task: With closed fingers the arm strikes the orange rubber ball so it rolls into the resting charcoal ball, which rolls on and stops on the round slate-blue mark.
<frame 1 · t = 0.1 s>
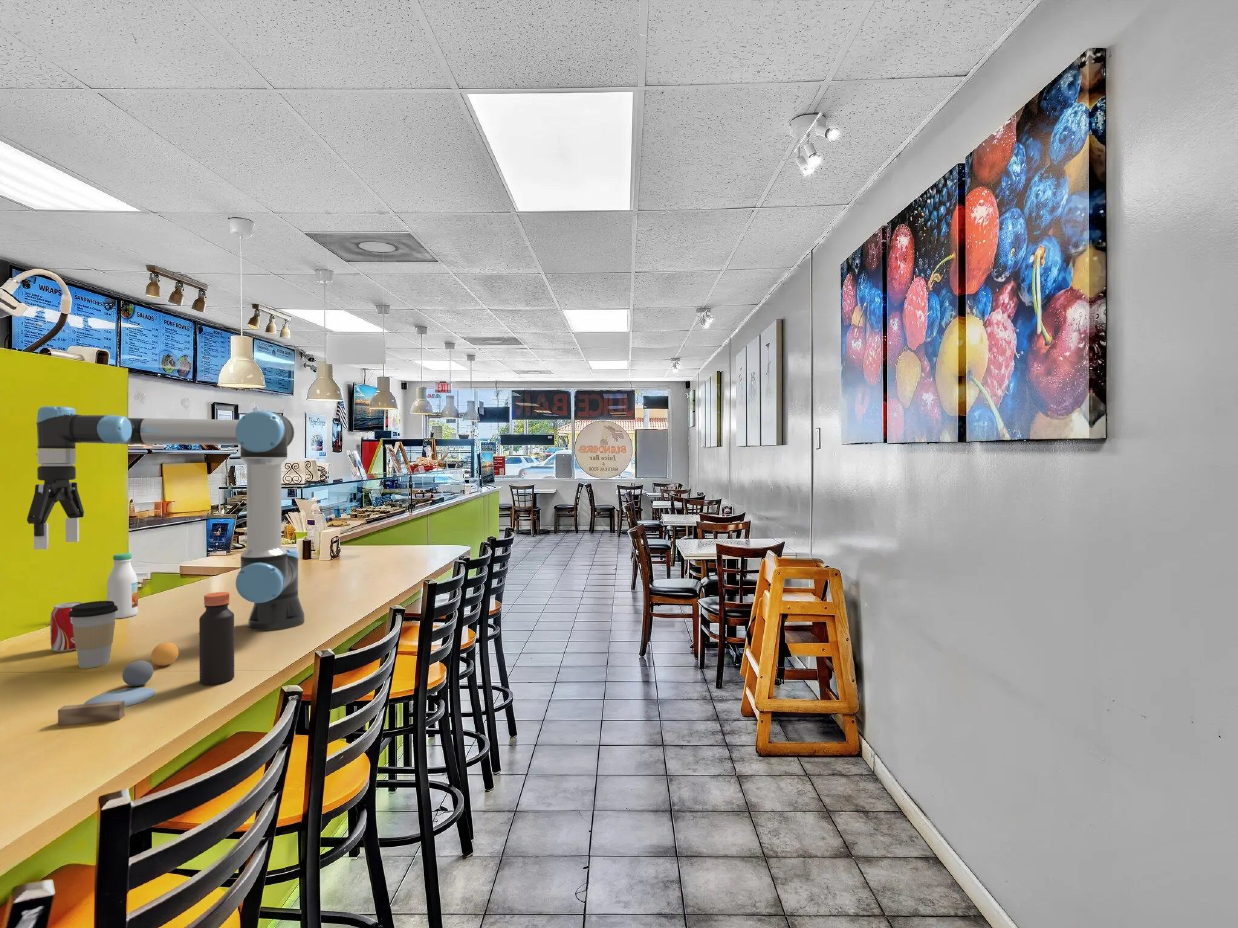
hand: (57, 545, 163), 28 cm above the worktop, tool pointing down, fingers open, 13 cm apart
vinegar: (217, 681, 143), on the worktop
coffee cup: (94, 665, 153), on the worktop
brown wooden block: (91, 720, 121), on the worktop
milk bottle: (122, 616, 198), on the worktop
ball A: (164, 653, 153), on the worktop
mark: (120, 698, 132), on the worktop
ball B: (138, 673, 139), on the worktop
soda can: (68, 649, 165), on the worktop
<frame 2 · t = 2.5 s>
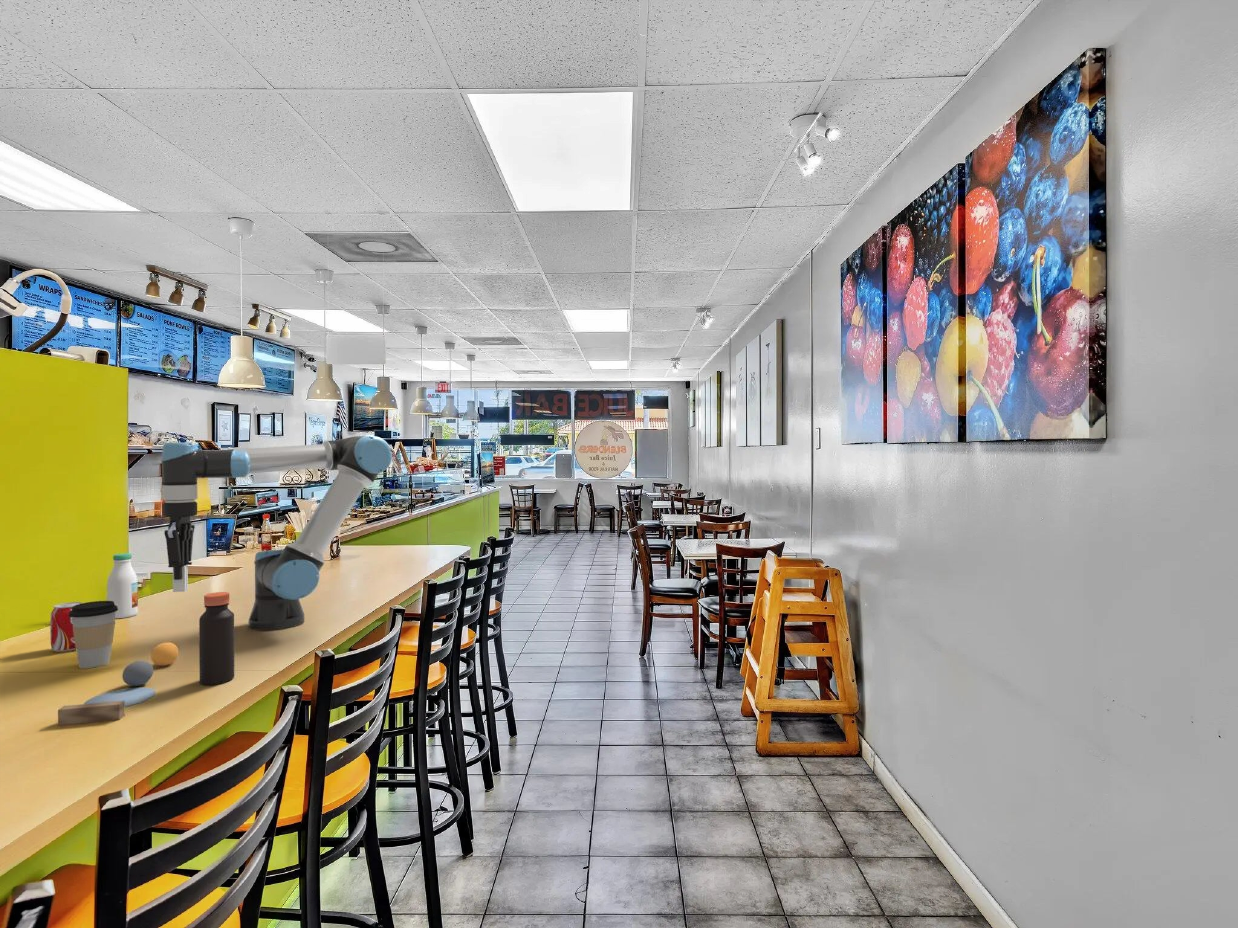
hand: (180, 590, 162), 16 cm above the worktop, tool pointing down, fingers closed
nothing on the worktop moved.
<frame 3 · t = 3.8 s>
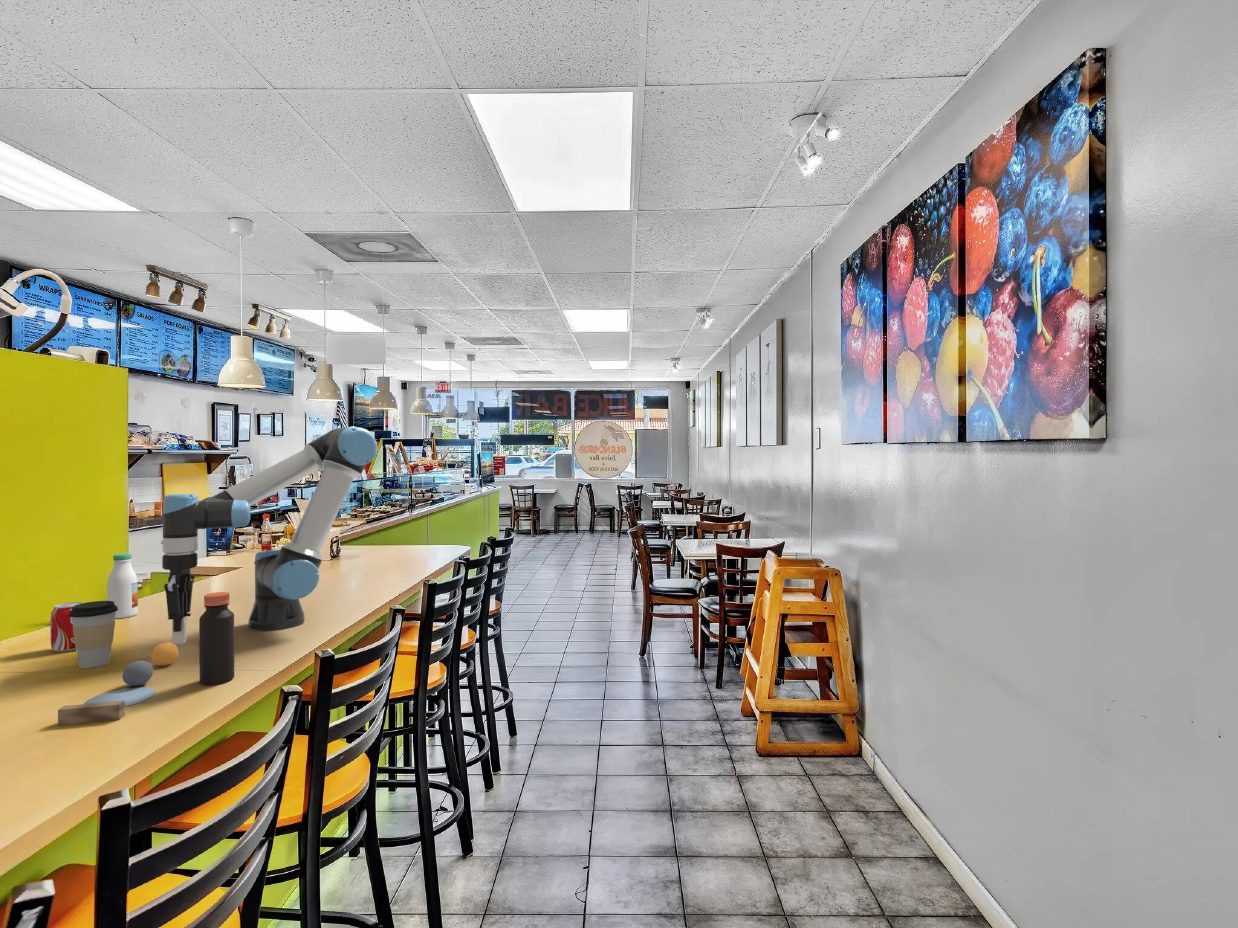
hand: (179, 642, 162), 3 cm above the worktop, tool pointing down, fingers closed
nothing on the worktop moved.
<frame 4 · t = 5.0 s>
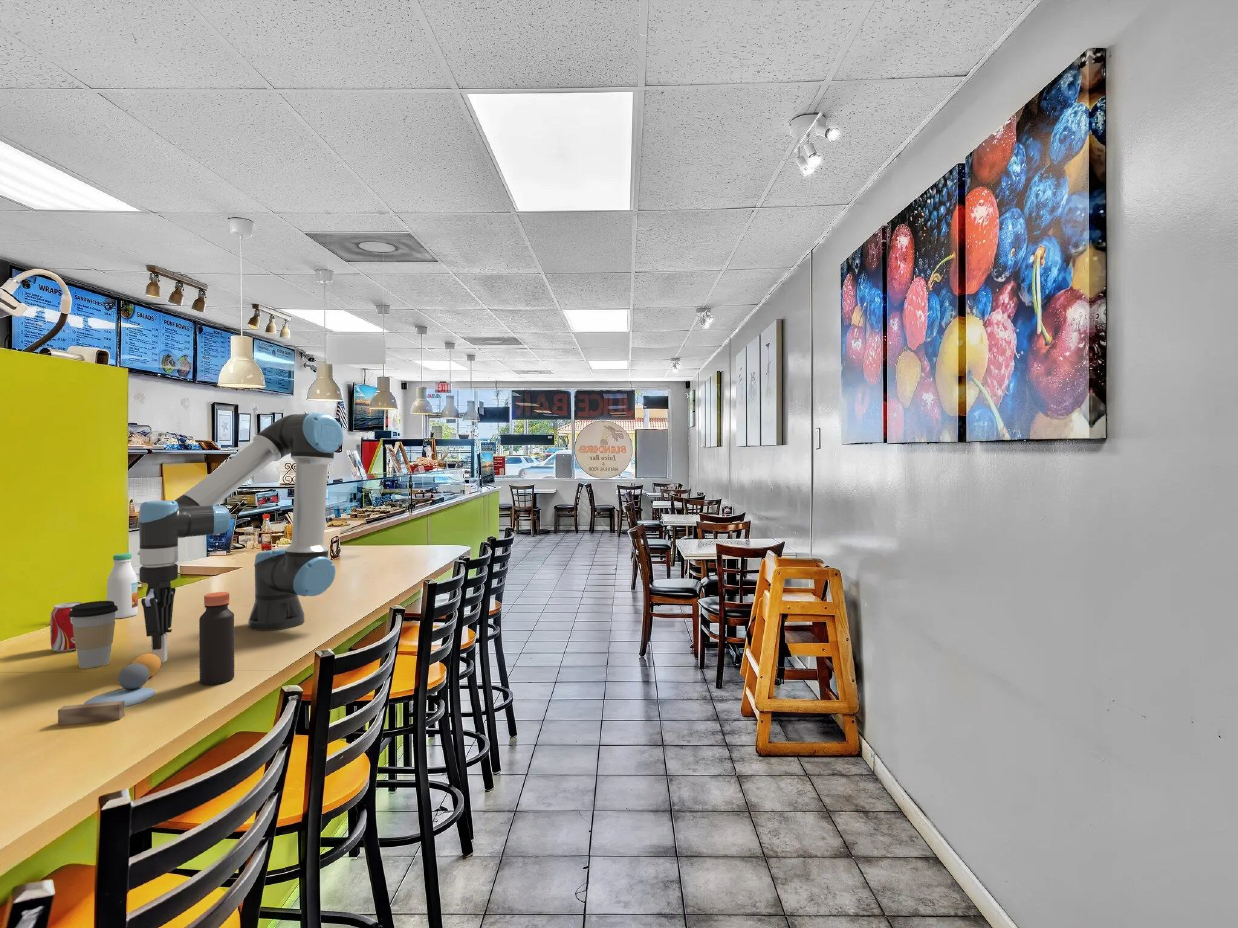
hand: (159, 661, 150), 2 cm above the worktop, tool pointing down, fingers closed
ball A: (146, 665, 144), on the worktop
ball B: (133, 676, 137), on the worktop
everything else where it was.
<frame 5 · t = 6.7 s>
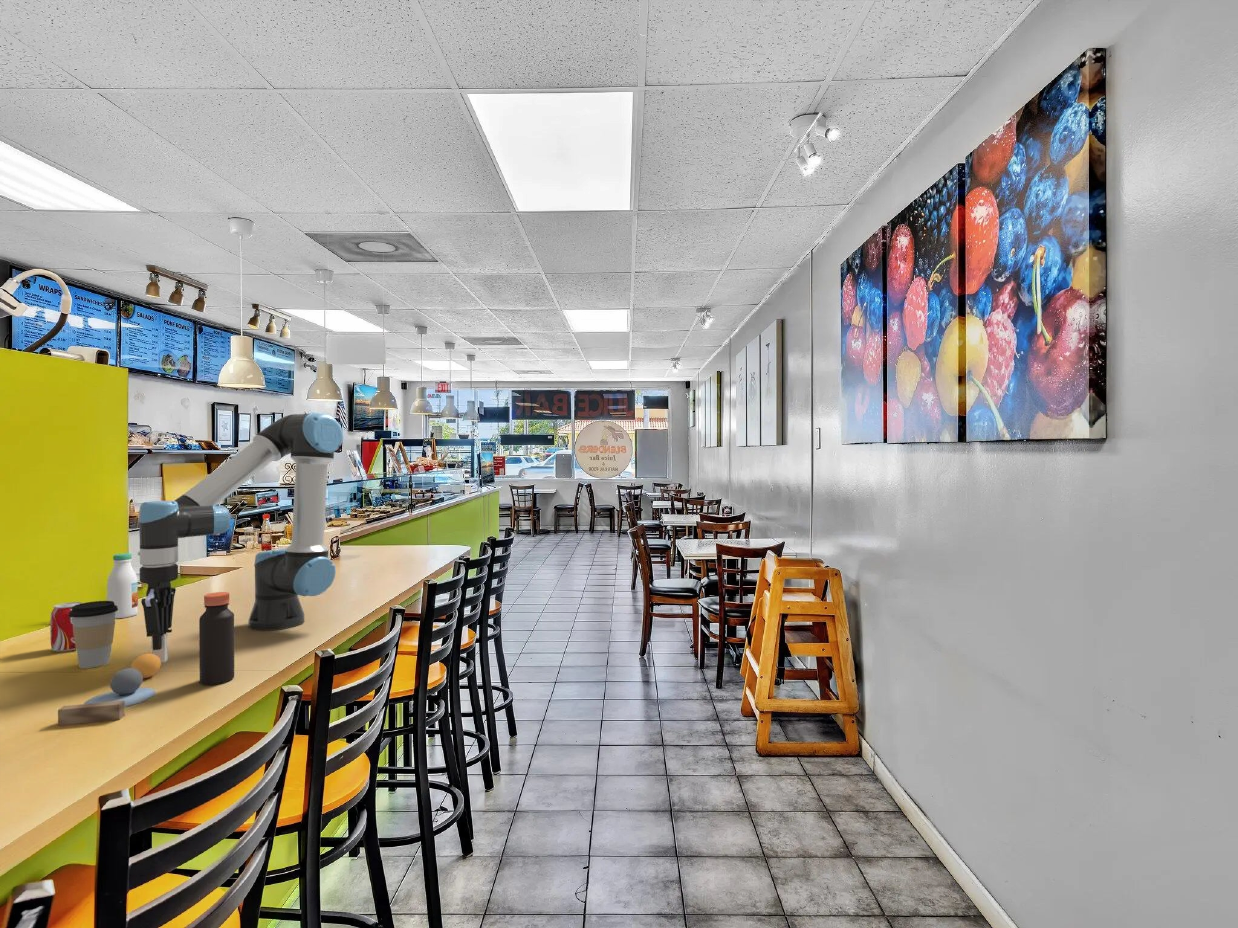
hand: (159, 661, 150), 2 cm above the worktop, tool pointing down, fingers closed
ball B: (126, 681, 134), on the worktop
everything else where it was.
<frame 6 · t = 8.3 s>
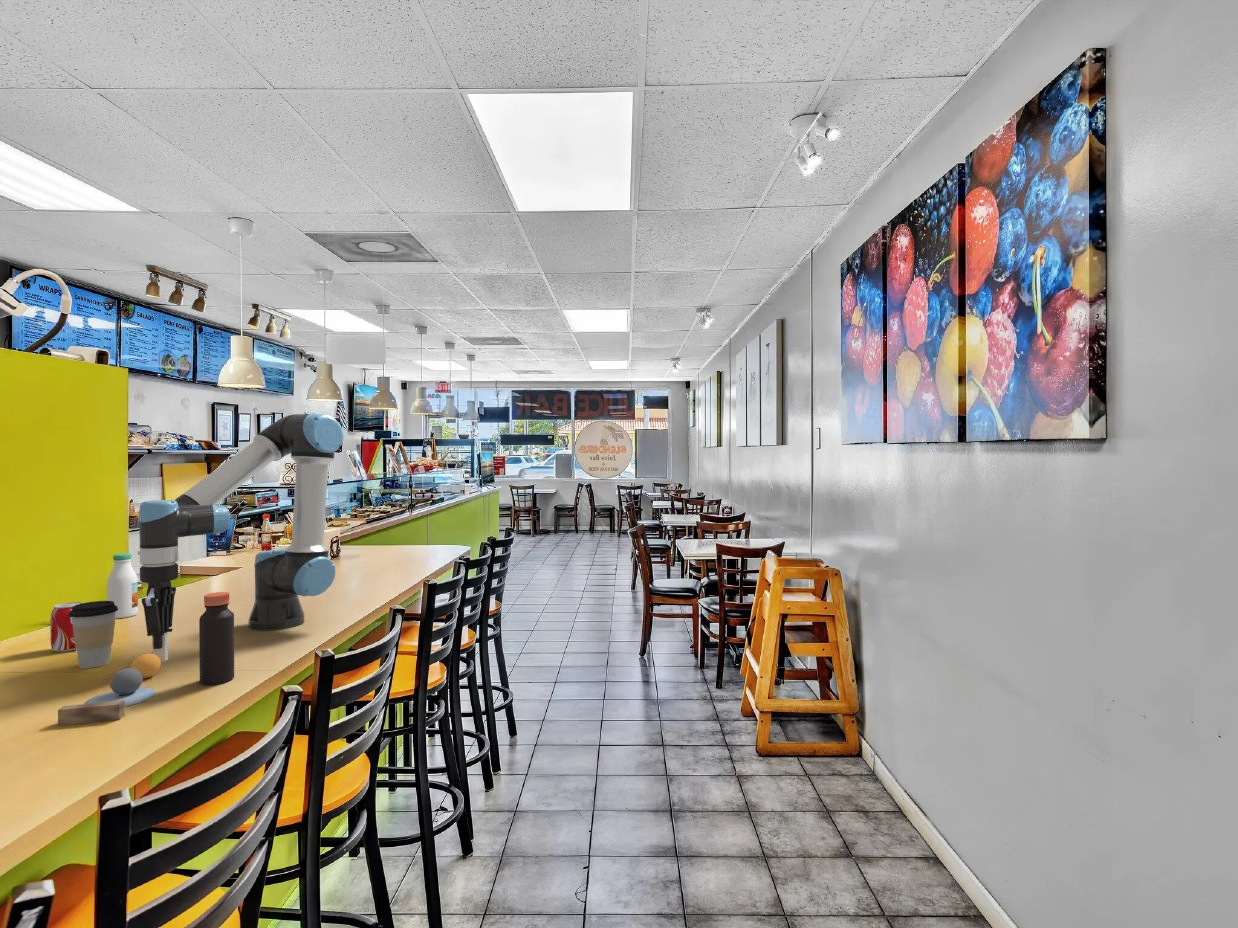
hand: (160, 660, 150), 2 cm above the worktop, tool pointing down, fingers closed
nothing on the worktop moved.
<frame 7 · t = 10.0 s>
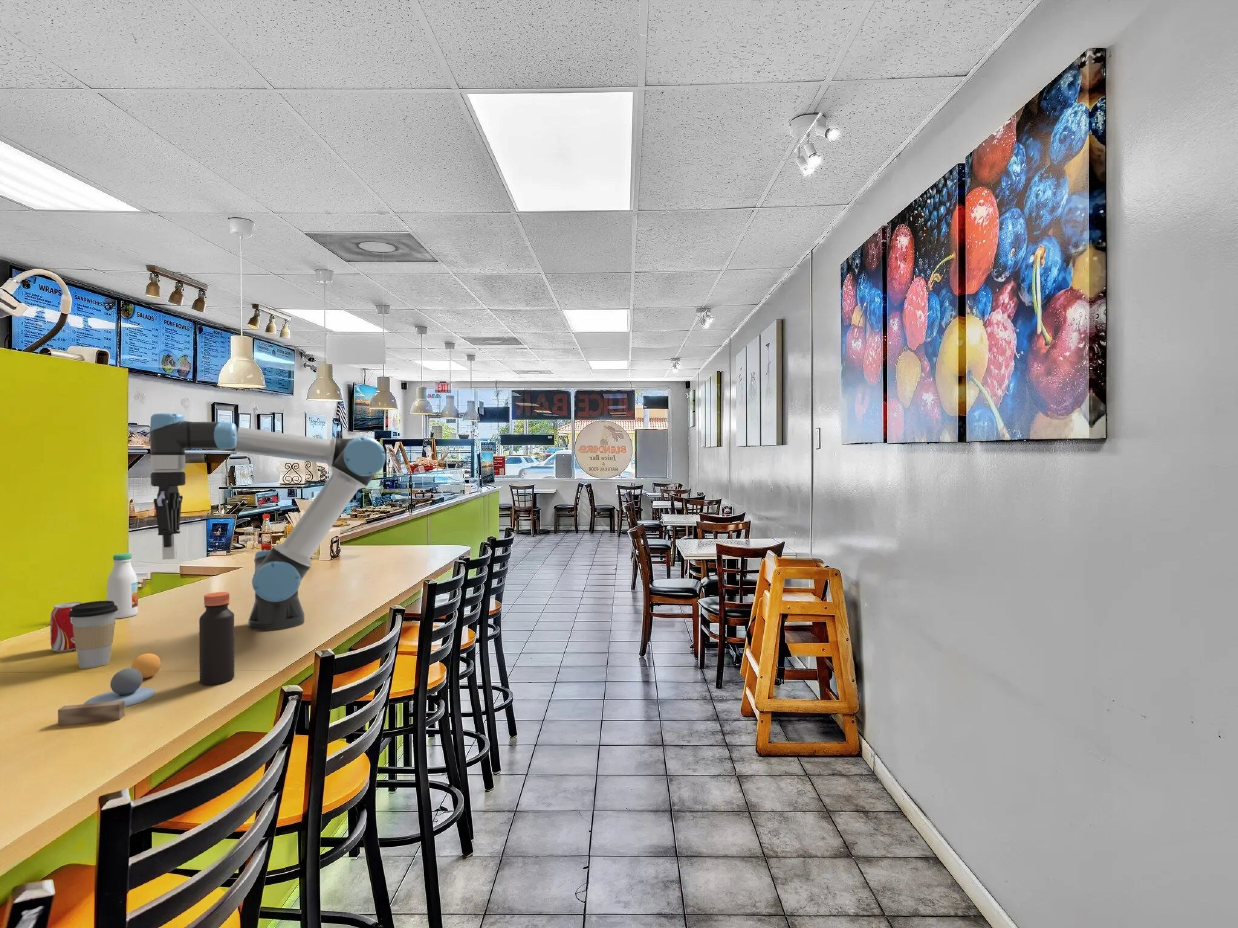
hand: (169, 558, 166), 24 cm above the worktop, tool pointing down, fingers closed
nothing on the worktop moved.
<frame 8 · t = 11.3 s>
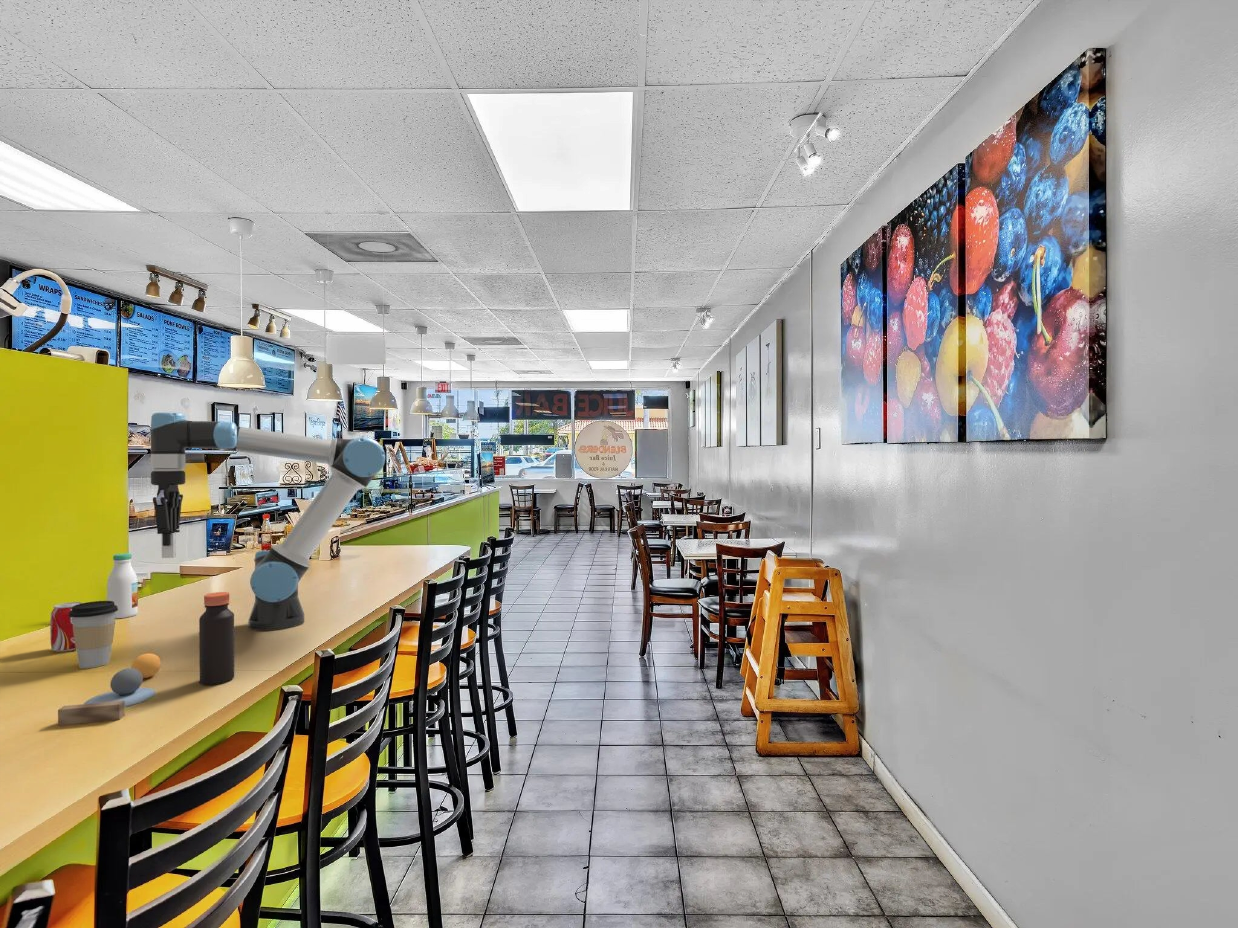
hand: (168, 557, 166), 24 cm above the worktop, tool pointing down, fingers closed
nothing on the worktop moved.
at the end: ball B 2.8 cm from the mark (horizontally); ball B never touched the robot; ball A first touched ball B at 4.8 s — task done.
